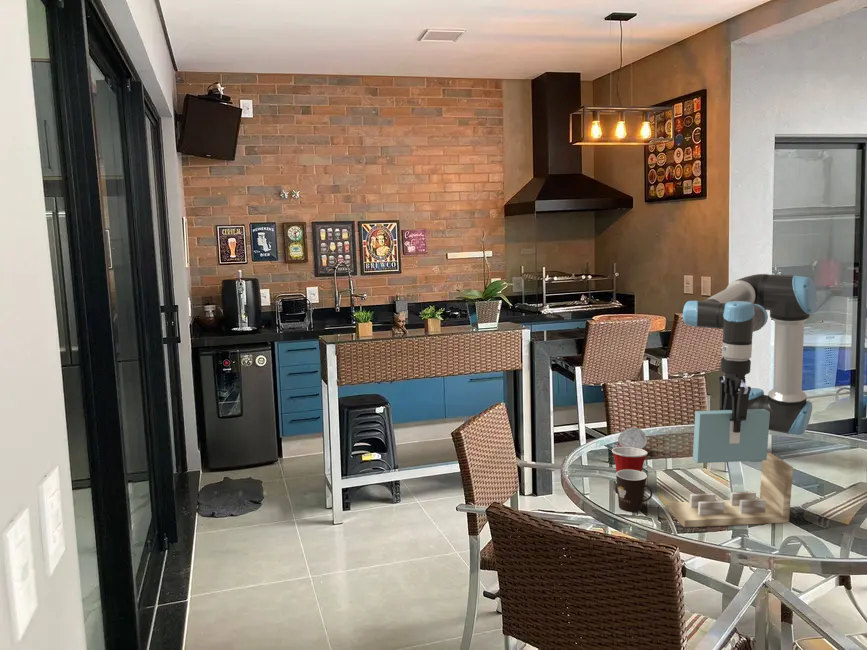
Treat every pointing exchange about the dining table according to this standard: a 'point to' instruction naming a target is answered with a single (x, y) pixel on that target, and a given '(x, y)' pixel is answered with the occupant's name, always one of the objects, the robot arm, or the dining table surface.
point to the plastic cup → (629, 458)
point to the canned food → (632, 438)
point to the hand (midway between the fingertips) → (730, 440)
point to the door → (715, 437)
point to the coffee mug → (631, 489)
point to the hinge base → (742, 501)
